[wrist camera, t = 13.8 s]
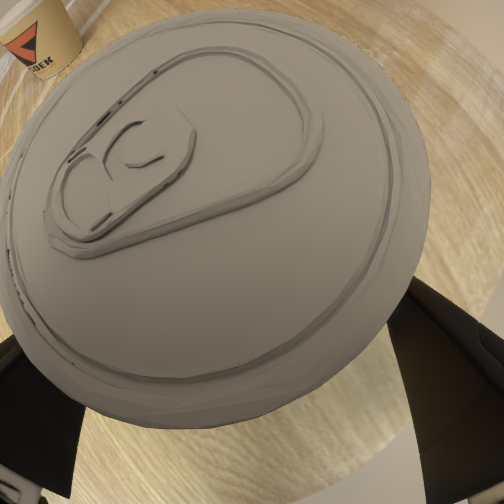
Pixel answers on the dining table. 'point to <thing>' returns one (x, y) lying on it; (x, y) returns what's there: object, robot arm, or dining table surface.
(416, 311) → the robot arm
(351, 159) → the beverage can
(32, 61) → the coffee cup
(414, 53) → the dining table surface
